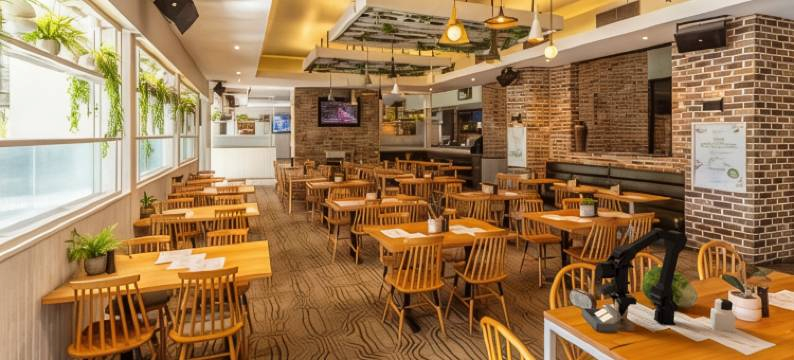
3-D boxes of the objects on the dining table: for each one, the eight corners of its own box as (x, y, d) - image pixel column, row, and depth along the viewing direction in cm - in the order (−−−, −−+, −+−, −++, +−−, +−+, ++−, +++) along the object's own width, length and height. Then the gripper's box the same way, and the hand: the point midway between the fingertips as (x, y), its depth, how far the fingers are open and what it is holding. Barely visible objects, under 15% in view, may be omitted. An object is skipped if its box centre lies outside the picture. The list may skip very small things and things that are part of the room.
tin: (596, 313, 219) (597, 295, 218) (591, 314, 218) (592, 295, 217) (572, 302, 233) (573, 285, 232) (567, 303, 231) (568, 286, 231)
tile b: (611, 317, 205) (608, 312, 205) (616, 321, 201) (612, 316, 200) (602, 323, 205) (599, 318, 205) (606, 327, 201) (603, 322, 201)
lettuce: (682, 318, 214) (695, 280, 213) (630, 296, 232) (642, 260, 230) (697, 317, 226) (709, 280, 225) (646, 296, 244) (658, 262, 242)
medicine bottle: (729, 326, 205) (731, 298, 204) (734, 332, 198) (736, 303, 197) (709, 324, 207) (711, 296, 206) (714, 330, 201) (716, 301, 200)
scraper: (618, 312, 212) (620, 296, 211) (631, 323, 199) (633, 306, 198) (604, 311, 212) (606, 295, 212) (616, 322, 199) (618, 305, 199)
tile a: (606, 312, 211) (603, 308, 211) (610, 316, 206) (607, 311, 206) (597, 318, 211) (594, 313, 211) (601, 322, 207) (598, 317, 207)
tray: (600, 316, 215) (600, 308, 215) (616, 332, 197) (616, 323, 197) (581, 315, 215) (582, 308, 215) (596, 331, 197) (596, 323, 197)
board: (621, 318, 213) (621, 313, 212) (635, 331, 199) (635, 325, 198) (602, 317, 213) (602, 312, 213) (615, 330, 199) (615, 324, 199)
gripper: (593, 271, 214) (591, 305, 215) (609, 283, 195) (607, 321, 196) (619, 272, 213) (617, 306, 215) (638, 284, 195) (636, 322, 196)
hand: (618, 314), depth 205 cm, fingers closed on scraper, 4 cm apart
